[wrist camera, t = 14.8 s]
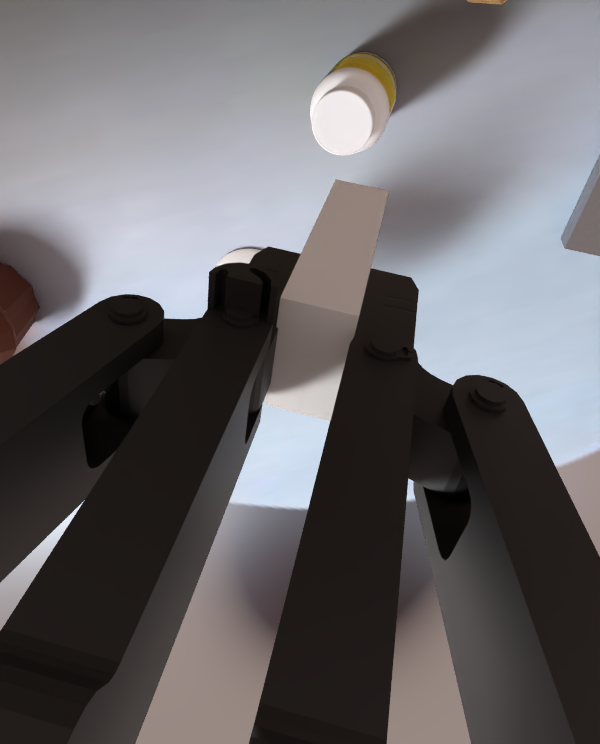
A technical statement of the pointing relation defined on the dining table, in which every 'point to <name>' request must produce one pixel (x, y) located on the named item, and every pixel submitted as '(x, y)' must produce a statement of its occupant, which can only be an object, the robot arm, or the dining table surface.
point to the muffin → (14, 310)
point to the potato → (488, 1)
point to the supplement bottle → (353, 104)
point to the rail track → (586, 218)
